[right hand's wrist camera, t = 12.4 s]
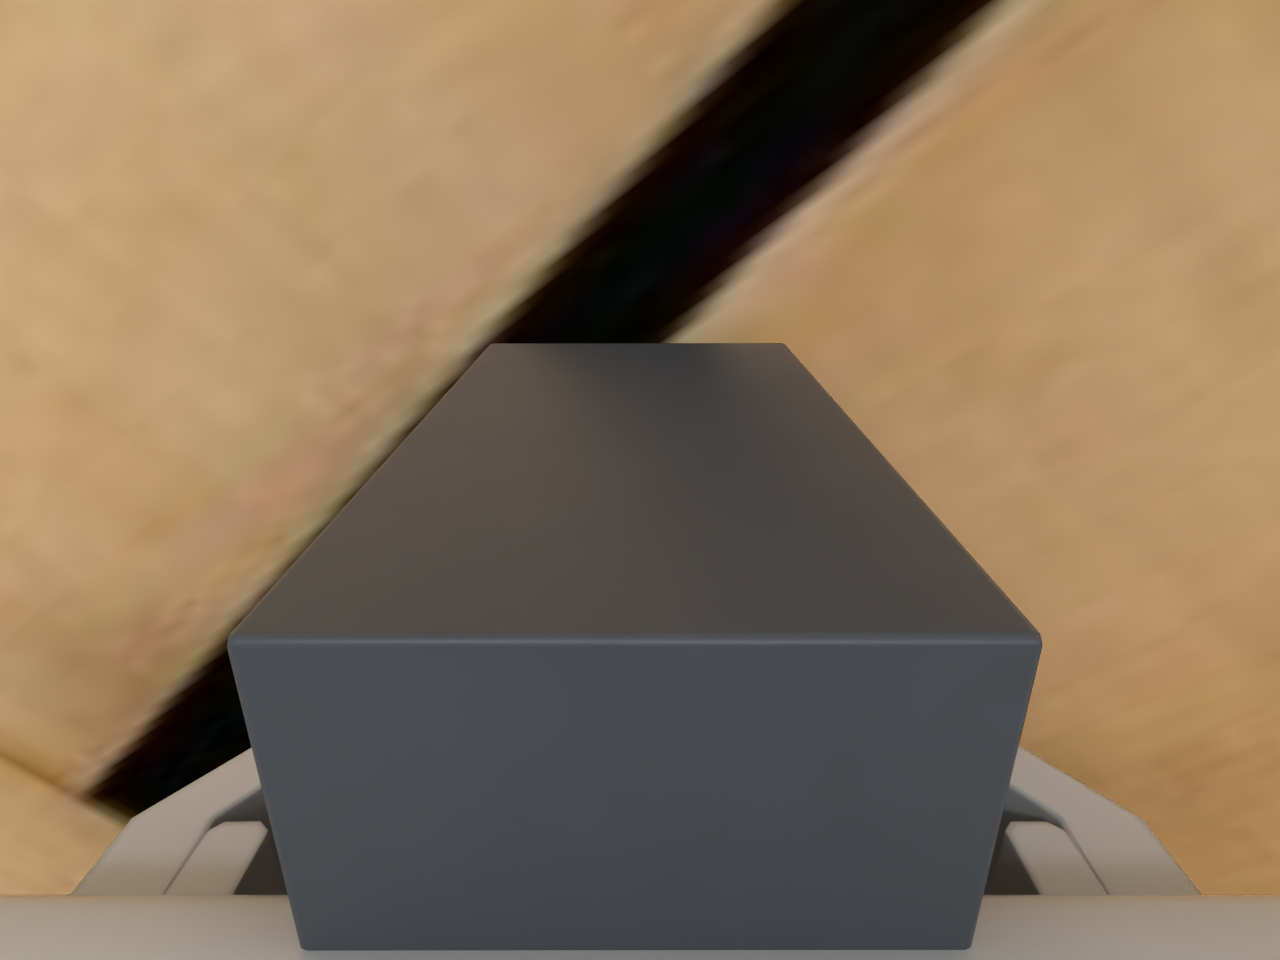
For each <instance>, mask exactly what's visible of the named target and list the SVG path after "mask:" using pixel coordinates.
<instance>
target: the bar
mask: <svg viewBox="0 0 1280 960" xmlns="http://www.w3.org/2000/svg"><path fill="white" fill-rule="evenodd" d="M227 649H228V653H229V657H230V661H231V665H232V670H233V674H234V678H235V682H236V686H237V690H238V694H239V698H240V702H241V706H242V710H243V714H244V718H245V723H246V727H247V731H248V735H249V739H250V743H251V747H252V751H253V755H254V759H255V763H256V767H257V771H258V775H259V780H260V784H261V788H262V792H263V796H264V800H265V804H266V808H267V812H268V816H269V820H270V824H271V828H272V832H273V837H274V841H275V845H276V849H277V853H278V857H279V861H280V865H281V869H282V873H283V877H284V881H285V885H286V890H287V894H288V898H289V902H290V906H291V910H292V914H293V918H294V922H295V926H296V930H297V934H298V938H299V942H300V947H301V948H302V949H304V950H307V951H393V950H966V949H968V948H971V944H972V940H973V936H974V932H975V927H976V923H977V919H978V915H979V911H980V906H981V902H982V898H983V894H984V889H985V885H986V881H987V877H988V873H989V868H990V864H991V860H992V856H993V852H994V847H995V843H996V839H997V835H998V830H999V826H1000V822H1001V818H1002V814H1003V809H1004V805H1005V801H1006V797H1007V792H1008V788H1009V784H1010V780H1011V776H1012V771H1013V767H1014V763H1015V759H1016V754H1017V750H1018V746H1019V742H1020V738H1021V733H1022V729H1023V725H1024V721H1025V716H1026V712H1027V708H1028V704H1029V700H1030V695H1031V691H1032V687H1033V683H1034V678H1035V674H1036V670H1037V666H1038V662H1039V657H1040V653H1041V649H1042V640H1041V636H1040V633H1039V632H1038V631H1037V630H1036V629H1035V627H1034V626H1033V625H1032V624H1031V623H1030V622H1029V621H1028V620H1027V618H1026V617H1025V616H1024V615H1023V614H1022V613H1021V612H1020V610H1019V609H1018V608H1017V607H1016V606H1015V605H1014V604H1013V603H1012V601H1011V600H1010V599H1009V598H1008V597H1007V596H1006V595H1005V593H1004V592H1003V591H1002V590H1001V589H1000V588H999V587H998V586H997V584H996V583H995V582H994V581H993V580H992V579H991V578H990V576H989V575H988V574H987V573H986V572H985V571H984V570H983V569H982V567H981V566H980V565H979V564H978V563H977V562H976V561H975V559H974V558H973V557H972V556H971V555H970V554H969V553H968V552H967V550H966V549H965V548H964V547H963V546H962V545H961V544H960V542H959V541H958V540H957V539H956V538H955V537H954V536H953V535H952V533H951V532H950V531H949V530H948V529H947V528H946V527H945V525H944V524H943V523H942V522H941V521H940V520H939V519H938V517H937V516H936V515H935V514H934V513H933V512H932V511H931V510H930V508H929V507H928V506H927V505H926V504H925V503H924V502H923V500H922V499H921V498H920V497H919V496H918V495H917V494H916V493H915V491H914V490H913V489H912V488H911V487H910V486H909V485H908V483H907V482H906V481H905V480H904V479H903V478H902V477H901V476H900V474H899V473H898V472H897V471H896V470H895V469H894V468H893V466H892V465H891V464H890V463H889V462H888V461H887V460H886V459H885V457H884V456H883V455H882V454H881V453H880V452H879V451H878V449H877V448H876V447H875V446H874V445H873V444H872V443H871V442H870V440H869V439H868V438H867V437H866V436H865V435H864V434H863V432H862V431H861V430H860V429H859V428H858V427H857V426H856V425H855V423H854V422H853V421H852V420H851V419H850V418H849V417H848V415H847V414H846V413H845V412H844V411H843V410H842V409H841V408H840V406H839V405H838V404H837V403H836V402H835V401H834V400H833V398H832V397H831V396H830V395H829V394H828V393H827V392H826V391H825V389H824V388H823V387H822V386H821V385H820V384H819V383H818V381H817V380H816V379H815V378H814V377H813V376H812V375H811V374H810V372H809V371H808V370H807V369H806V368H805V367H804V366H803V364H802V363H801V362H800V361H799V360H798V359H797V358H796V357H795V355H794V354H793V353H792V352H791V351H790V350H789V349H788V347H787V346H786V345H785V344H782V343H678V344H491V345H489V346H488V348H487V349H486V350H485V351H484V352H483V353H482V354H481V355H480V356H479V358H478V359H477V360H476V361H475V362H474V363H473V364H472V365H471V366H470V368H469V369H468V370H467V371H466V372H465V373H464V374H463V375H462V376H461V378H460V379H459V380H458V381H457V382H456V383H455V384H454V385H453V386H452V388H451V389H450V390H449V391H448V392H447V393H446V394H445V395H444V396H443V398H442V399H441V400H440V401H439V402H438V403H437V404H436V405H435V407H434V408H433V409H432V410H431V411H430V412H429V413H428V414H427V415H426V417H425V418H424V419H423V420H422V421H421V422H420V423H419V424H418V425H417V427H416V428H415V429H414V430H413V431H412V432H411V433H410V434H409V435H408V437H407V438H406V439H405V440H404V441H403V442H402V443H401V444H400V445H399V447H398V448H397V449H396V450H395V451H394V452H393V453H392V454H391V455H390V457H389V458H388V459H387V460H386V461H385V462H384V463H383V464H382V465H381V467H380V468H379V469H378V470H377V471H376V472H375V473H374V474H373V475H372V477H371V478H370V479H369V480H368V481H367V482H366V483H365V484H364V485H363V487H362V488H361V489H360V490H359V491H358V492H357V493H356V494H355V496H354V497H353V498H352V499H351V500H350V501H349V502H348V503H347V504H346V506H345V507H344V508H343V509H342V510H341V511H340V512H339V513H338V514H337V516H336V517H335V518H334V519H333V520H332V521H331V522H330V523H329V524H328V526H327V527H326V528H325V529H324V530H323V531H322V532H321V533H320V534H319V536H318V537H317V538H316V539H315V540H314V541H313V542H312V543H311V544H310V546H309V547H308V548H307V549H306V550H305V551H304V552H303V553H302V554H301V556H300V557H299V558H298V559H297V560H296V561H295V562H294V563H293V564H292V566H291V567H290V568H289V569H288V570H287V571H286V572H285V573H284V574H283V576H282V577H281V578H280V579H279V580H278V581H277V582H276V583H275V585H274V586H273V587H272V588H271V589H270V590H269V591H268V592H267V593H266V595H265V596H264V597H263V598H262V599H261V600H260V601H259V602H258V603H257V605H256V606H255V607H254V608H253V609H252V610H251V611H250V612H249V613H248V615H247V616H246V617H245V618H244V619H243V620H242V621H241V622H240V623H239V625H238V626H237V627H236V628H235V629H234V630H233V631H232V632H231V633H230V635H229V638H228V643H227Z"/></svg>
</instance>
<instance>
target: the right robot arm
mask: <svg viewBox="0 0 1280 960" xmlns="http://www.w3.org/2000/svg"><path fill="white" fill-rule="evenodd" d="M0 960H1280V895H1202V894H1201V893H1200V892H1199V891H1198V889H1197V888H1196V887H1195V885H1194V884H1193V883H1192V882H1191V880H1190V879H1189V878H1188V877H1187V875H1186V874H1185V873H1184V871H1183V870H1182V869H1181V868H1180V866H1179V865H1178V864H1177V863H1176V861H1175V860H1174V859H1173V857H1172V856H1171V855H1170V854H1169V852H1168V851H1167V850H1166V848H1165V847H1164V846H1163V845H1162V843H1161V842H1160V841H1159V840H1158V838H1157V837H1156V836H1155V834H1154V833H1153V832H1152V831H1151V829H1150V828H1149V827H1148V826H1147V824H1146V823H1145V822H1144V820H1143V819H1141V818H1139V817H1138V816H1136V815H1134V814H1133V813H1131V812H1129V811H1128V810H1126V809H1124V808H1123V807H1121V806H1119V805H1118V804H1116V803H1114V802H1113V801H1111V800H1109V799H1108V798H1106V797H1104V796H1103V795H1101V794H1099V793H1097V792H1096V791H1094V790H1092V789H1091V788H1089V787H1087V786H1086V785H1084V784H1082V783H1081V782H1079V781H1077V780H1076V779H1074V778H1072V777H1071V776H1069V775H1067V774H1066V773H1064V772H1062V771H1061V770H1059V769H1057V768H1056V767H1054V766H1052V765H1051V764H1049V763H1047V762H1045V761H1044V760H1042V759H1040V758H1039V757H1037V756H1035V755H1034V754H1032V753H1030V752H1029V751H1027V750H1025V749H1024V748H1022V747H1020V746H1018V750H1017V754H1016V759H1015V763H1014V767H1013V771H1012V776H1011V780H1010V784H1009V788H1008V792H1007V797H1006V801H1005V805H1004V809H1003V814H1002V818H1001V822H1000V826H999V830H998V835H997V839H996V843H995V847H994V852H993V856H992V860H991V864H990V868H989V873H988V877H987V881H986V885H985V889H984V894H983V898H982V902H981V906H980V911H979V915H978V919H977V923H976V927H975V932H974V936H973V940H972V944H971V948H968V949H966V950H393V951H307V950H304V949H302V948H301V947H300V942H299V938H298V934H297V930H296V926H295V922H294V918H293V914H292V910H291V906H290V902H289V898H288V894H287V890H286V885H285V881H284V877H283V873H282V869H281V865H280V861H279V857H278V853H277V849H276V845H275V841H274V837H273V832H272V828H271V824H270V820H269V816H268V812H267V808H266V804H265V800H264V796H263V792H262V788H261V784H260V780H259V775H258V771H257V767H256V763H255V759H254V755H253V751H252V748H250V749H248V750H247V751H245V752H243V753H242V754H240V755H238V756H237V757H235V758H233V759H231V760H230V761H228V762H226V763H225V764H223V765H221V766H220V767H218V768H216V769H215V770H213V771H211V772H209V773H208V774H206V775H204V776H203V777H201V778H199V779H198V780H196V781H194V782H192V783H191V784H189V785H187V786H186V787H184V788H182V789H181V790H179V791H177V792H176V793H174V794H172V795H170V796H169V797H167V798H165V799H164V800H162V801H160V802H159V803H157V804H155V805H153V806H152V807H150V808H148V809H147V810H145V811H143V812H142V813H140V814H138V815H137V816H135V817H133V818H132V819H131V820H130V821H129V822H128V824H127V825H126V826H125V827H124V829H123V830H122V831H121V832H120V834H119V835H118V836H117V837H116V839H115V840H114V841H113V842H112V844H111V845H110V846H109V847H108V849H107V850H106V851H105V852H104V854H103V855H102V856H101V857H100V859H99V860H98V861H97V862H96V864H95V865H94V866H93V867H92V869H91V870H90V871H89V872H88V874H87V875H86V876H85V877H84V879H83V880H82V881H81V882H80V884H79V885H78V886H77V887H76V889H75V890H74V891H73V892H72V894H71V895H0Z"/></svg>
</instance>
